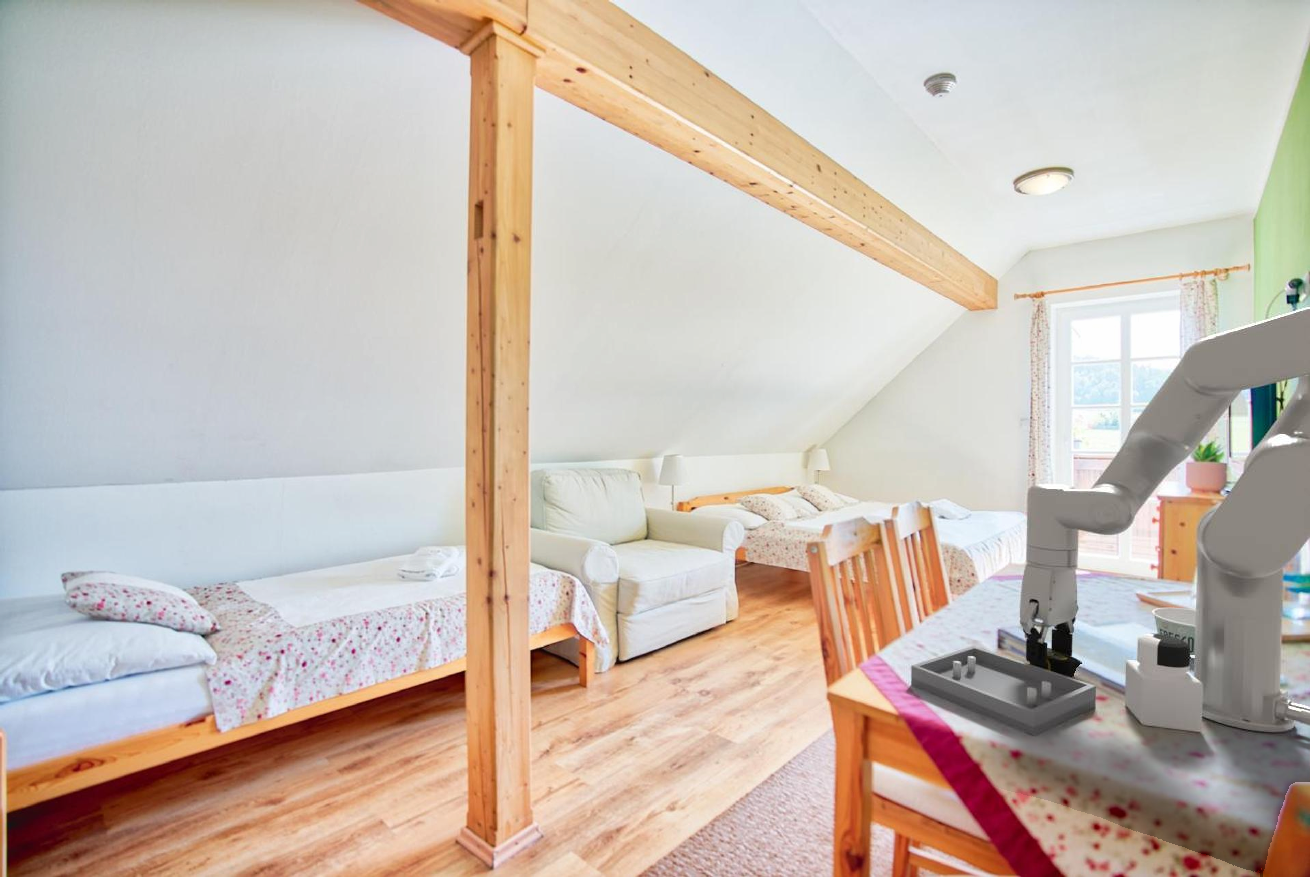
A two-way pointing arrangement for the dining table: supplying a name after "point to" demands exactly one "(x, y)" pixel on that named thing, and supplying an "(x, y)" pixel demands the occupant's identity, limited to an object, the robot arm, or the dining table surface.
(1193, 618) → the food container
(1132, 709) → the medicine bottle
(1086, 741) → the dining table surface
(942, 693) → the pin tray
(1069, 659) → the tape measure
